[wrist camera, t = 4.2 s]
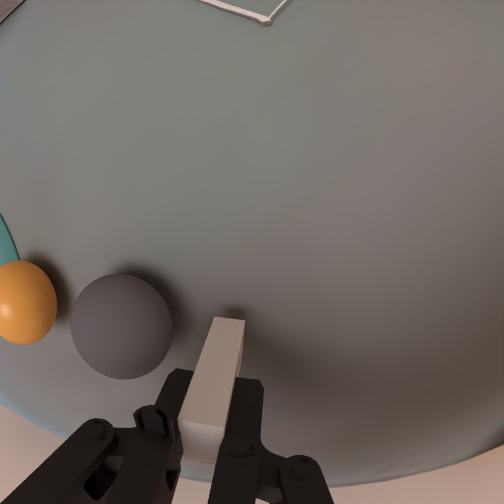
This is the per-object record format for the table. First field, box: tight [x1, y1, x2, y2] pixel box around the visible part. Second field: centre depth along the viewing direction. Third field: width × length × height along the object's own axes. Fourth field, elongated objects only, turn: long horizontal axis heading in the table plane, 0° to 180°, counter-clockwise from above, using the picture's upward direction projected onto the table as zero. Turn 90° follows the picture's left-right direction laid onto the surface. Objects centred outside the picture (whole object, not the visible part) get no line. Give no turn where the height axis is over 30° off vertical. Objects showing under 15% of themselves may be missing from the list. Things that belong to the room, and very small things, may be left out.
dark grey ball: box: [71, 274, 173, 379], centre depth 14 cm, size 6×6×6 cm
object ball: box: [0, 260, 57, 345], centre depth 14 cm, size 6×6×6 cm
